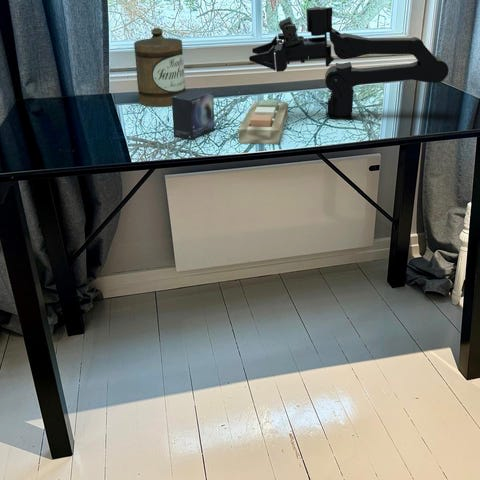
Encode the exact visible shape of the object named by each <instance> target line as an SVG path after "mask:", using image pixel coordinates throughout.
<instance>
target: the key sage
mask: <svg viewBox="0 0 480 480" xmlns="http://www.w3.org/2000/svg"><path fill="white" fill-rule="evenodd" d="M278 103H279V100H277V99H260V100H259V104H258V107H275V111H278Z"/></svg>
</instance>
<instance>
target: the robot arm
mask: <svg viewBox="0 0 480 480" xmlns="http://www.w3.org/2000/svg"><path fill="white" fill-rule="evenodd" d="M305 10H306V32H307V33H310V35H311V36H313V37H308V38H304V36H303V35H300V36H298V35H299V34H298V33H297V31H298V28H297V26H296V24H295V23H293V20H292V18H291V17H290V16H289V17H287V18H285V19H283V20H281V21H278V27H279V30H280V31H281V33H277V35H275V36H274V38H273V39H272V40H271V41H270V42H267V43H265V44H262V45H259V46H257V47H253V48H251V50H252V53H253V55H249V57H248V59H249V62H252V63H255V64H258V65H260V66H263V67H266V68H269V69H271V70H272V71H276V72H277V73H281V72H284V71H286V69H287V68H288V65H290V63H294V62H295V63H296V62H300V64H304V63H305V62H307V61H317V60H325V67H326V68H327V67H329V66H330V65H331V63H332V62H334V61H335V57H334V56H333V55H332V47H333V52H334V54H335V56H337V58H339V59H341V60H347V59H353V58H358V57H361V56H365V55H413V57H414V58H415V59H416V61H414V62H411V63H404V64H391V65H384V66H383V65H381V66H373V67H371V66H370V67H363V68H362V67H360V68H358V67H353V65H352V63H351V61H349V62H345V63H338V62H336V63H335V65H331V66H330V67H329V68H328V69H327V70H326V71H325V73H324V81H325V86H326V87H327V89H328V90H329V91H331V92H330V96H329V98H328V99H327V116H328V119H333V120H334V119H335V120H337V119H338V120H353V108H354V107H353V106H354V92H355V90H354V87H356V86H359V85H366V84H367V85H368V84H377V83H388V82H399V81H400V82H401V81H402V82H403V81H419V82H423V83H431V84H432V83H433V84H438V83H442V82H444V80H445V79H446V78H447V77H448V75H449V71H450V70H449V66H448V64H447V63H446V62H445V61H444V60H443V59H442V58H441V57H439V56H437V55H435V56H434V54H433V53H432V52H431V51H430V50H429V49H428V48H427V46H426V45H425V44H424V42H423V41H422V39H421V38H419V37H416V36H413V37H385V38H384V37H373V38H372V37H371V38H368V37H365V36H360V35H356V34H352V33H345V32H344V33H341V32H340V31H338V30H337V29H336V28H333V7H332V6H330V7H326V6H324V7H323V6H322V7H321V6H314V7H309V8H306V9H305ZM327 34H328V36H329V40H330V42H331V44H332V45H333V46H332V45H331V44H329V43H328V39H327V38H328V37H327ZM319 36H320V37H319Z"/></svg>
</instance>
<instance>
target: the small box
mask: <svg viewBox="0 0 480 480" xmlns="http://www.w3.org/2000/svg"><path fill="white" fill-rule="evenodd" d="M171 98H172V106H171V109H172V124H173V125H172V127H173V136H174V137H176V138H183V139H187V140H194V139H196V138H198V137H201V136H204V135H205V134H208V133H210V132H213V131H214V130H215V108H214V107H215V106H214V105H215V104H214V103H215V102H214V91H211V90H206V89H200V88H193V89H189V90H186V92H184V93H181V94H178V95H175V96H172V97H171Z"/></svg>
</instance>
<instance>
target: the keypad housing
mask: <svg viewBox="0 0 480 480" xmlns="http://www.w3.org/2000/svg"><path fill="white" fill-rule="evenodd" d="M259 102H260V101H259ZM259 102H258V101H257V102H255V101H254V102H253V103H252V104H251V105H250V108H249V110H248V112H247V113H246V115H245V116H244V119H243V120H242V122H241V124H240V126H239V127H238V143H239V144H263V145H265V144H266V145H272V144H273V145H279V144H280V141H281V139H282V138H281V137H282V134H283V132H284V128H285V126H286V121H287V118H288V115H289V114H288V113H289V103H288V102H278V111H275V119H273V118H272V127H252V126H250V120H251V118H252V116H253V115H254V112H255V110H256V108H257V107H258V104H259Z"/></svg>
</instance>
